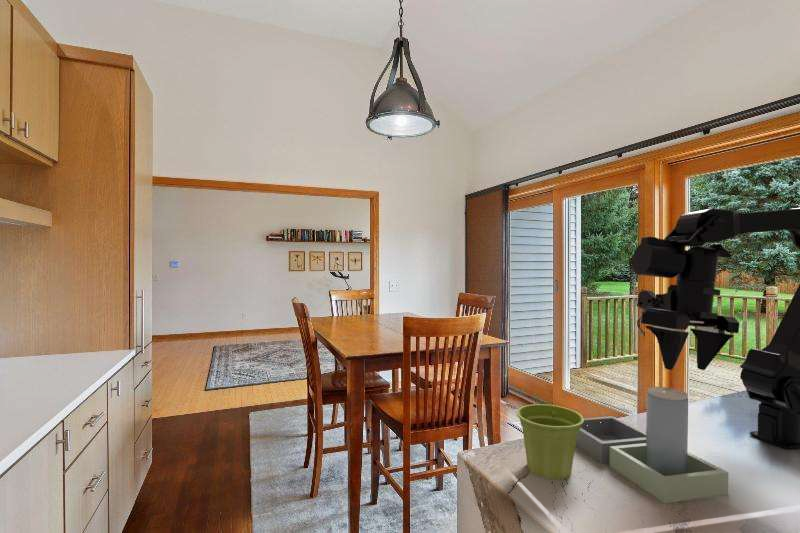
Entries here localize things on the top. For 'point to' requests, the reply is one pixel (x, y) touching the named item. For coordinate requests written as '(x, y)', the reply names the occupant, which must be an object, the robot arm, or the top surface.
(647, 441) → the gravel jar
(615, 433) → the charcoal bin
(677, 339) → the robot arm
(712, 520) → the top surface
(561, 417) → the plant pot
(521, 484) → the top surface
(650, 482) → the sage bin
